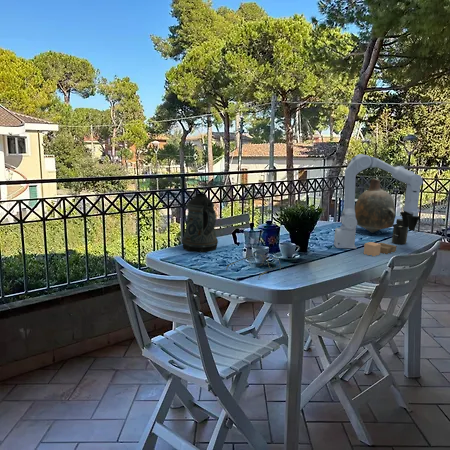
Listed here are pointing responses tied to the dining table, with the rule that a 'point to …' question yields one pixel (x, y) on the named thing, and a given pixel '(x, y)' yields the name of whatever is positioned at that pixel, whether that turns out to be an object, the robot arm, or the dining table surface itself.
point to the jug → (375, 208)
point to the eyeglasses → (249, 261)
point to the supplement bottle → (399, 233)
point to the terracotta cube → (372, 248)
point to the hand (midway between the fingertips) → (408, 228)
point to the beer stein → (200, 225)
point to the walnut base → (387, 248)
